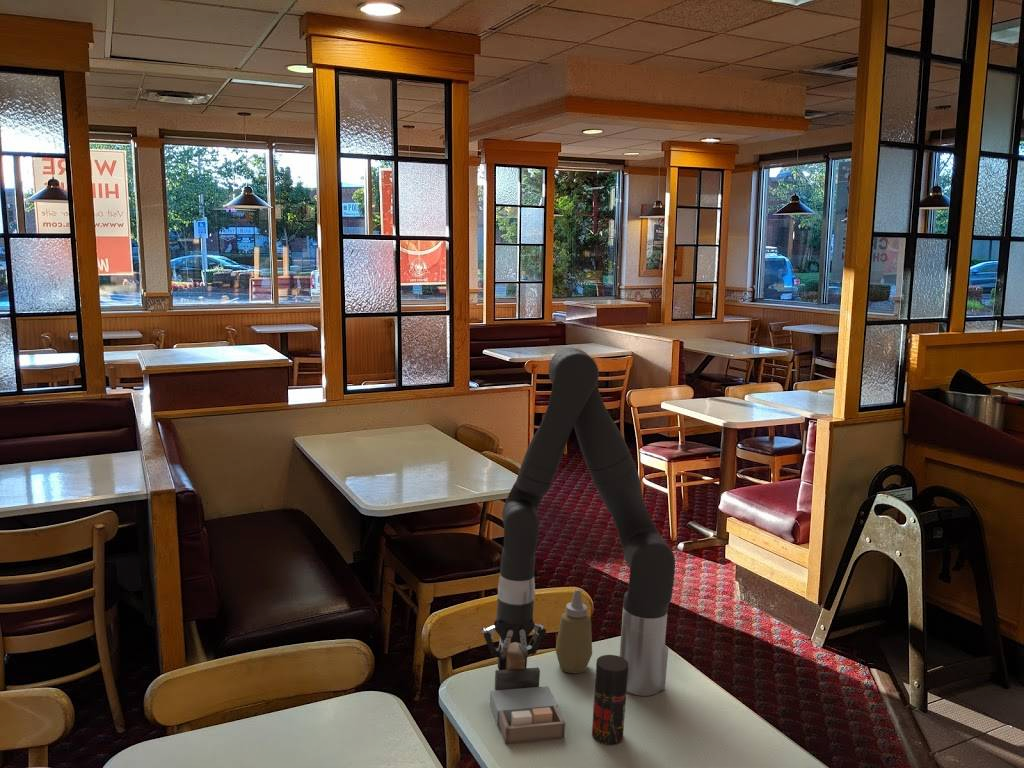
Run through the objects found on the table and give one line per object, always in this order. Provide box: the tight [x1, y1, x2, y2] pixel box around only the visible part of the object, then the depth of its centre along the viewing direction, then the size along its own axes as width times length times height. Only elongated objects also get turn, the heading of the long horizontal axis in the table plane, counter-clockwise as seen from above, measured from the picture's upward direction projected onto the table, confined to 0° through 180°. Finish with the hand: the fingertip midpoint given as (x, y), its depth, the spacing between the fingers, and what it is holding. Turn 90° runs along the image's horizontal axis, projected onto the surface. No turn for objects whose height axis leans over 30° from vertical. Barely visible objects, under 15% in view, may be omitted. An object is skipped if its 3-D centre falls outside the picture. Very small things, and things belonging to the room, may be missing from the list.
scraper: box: [494, 642, 541, 691], centre depth 168 cm, size 9×10×6 cm
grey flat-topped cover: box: [489, 685, 559, 726], centre depth 159 cm, size 12×7×3 cm, turn 103°
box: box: [498, 706, 566, 745], centre depth 153 cm, size 11×6×3 cm, turn 103°
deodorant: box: [591, 654, 628, 746], centre depth 152 cm, size 6×6×15 cm
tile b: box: [511, 710, 532, 726], centre depth 152 cm, size 4×4×2 cm
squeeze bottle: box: [555, 589, 593, 674], centre depth 176 cm, size 8×8×18 cm
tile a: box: [532, 707, 552, 724], centre depth 153 cm, size 4×4×2 cm
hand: (511, 672), depth 168 cm, fingers closed on scraper, 3 cm apart
